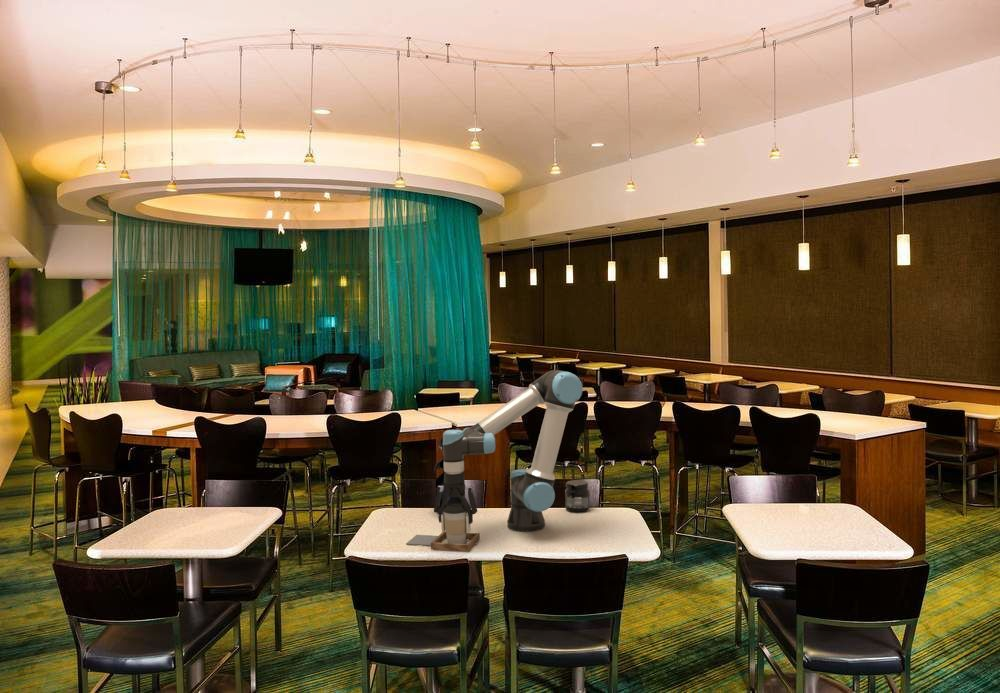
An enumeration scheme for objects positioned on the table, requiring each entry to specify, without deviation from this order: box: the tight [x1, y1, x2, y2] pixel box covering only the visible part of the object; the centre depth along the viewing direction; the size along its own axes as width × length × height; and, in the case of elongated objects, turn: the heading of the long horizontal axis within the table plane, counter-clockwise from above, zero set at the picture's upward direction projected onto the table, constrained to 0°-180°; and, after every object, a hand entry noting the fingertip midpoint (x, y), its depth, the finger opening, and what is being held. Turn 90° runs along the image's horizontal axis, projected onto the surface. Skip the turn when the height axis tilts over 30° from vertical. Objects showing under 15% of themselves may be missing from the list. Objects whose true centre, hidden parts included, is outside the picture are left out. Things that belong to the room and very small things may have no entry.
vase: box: [433, 437, 466, 516], centre depth 312 cm, size 14×12×35 cm
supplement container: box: [564, 479, 590, 514], centre depth 314 cm, size 10×10×12 cm
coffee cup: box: [443, 503, 467, 544], centre depth 271 cm, size 9×9×15 cm
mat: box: [405, 534, 439, 547], centre depth 276 cm, size 11×11×1 cm
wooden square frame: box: [430, 530, 481, 553], centre depth 271 cm, size 14×14×2 cm
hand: (456, 531), depth 271 cm, fingers closed on coffee cup, 9 cm apart
